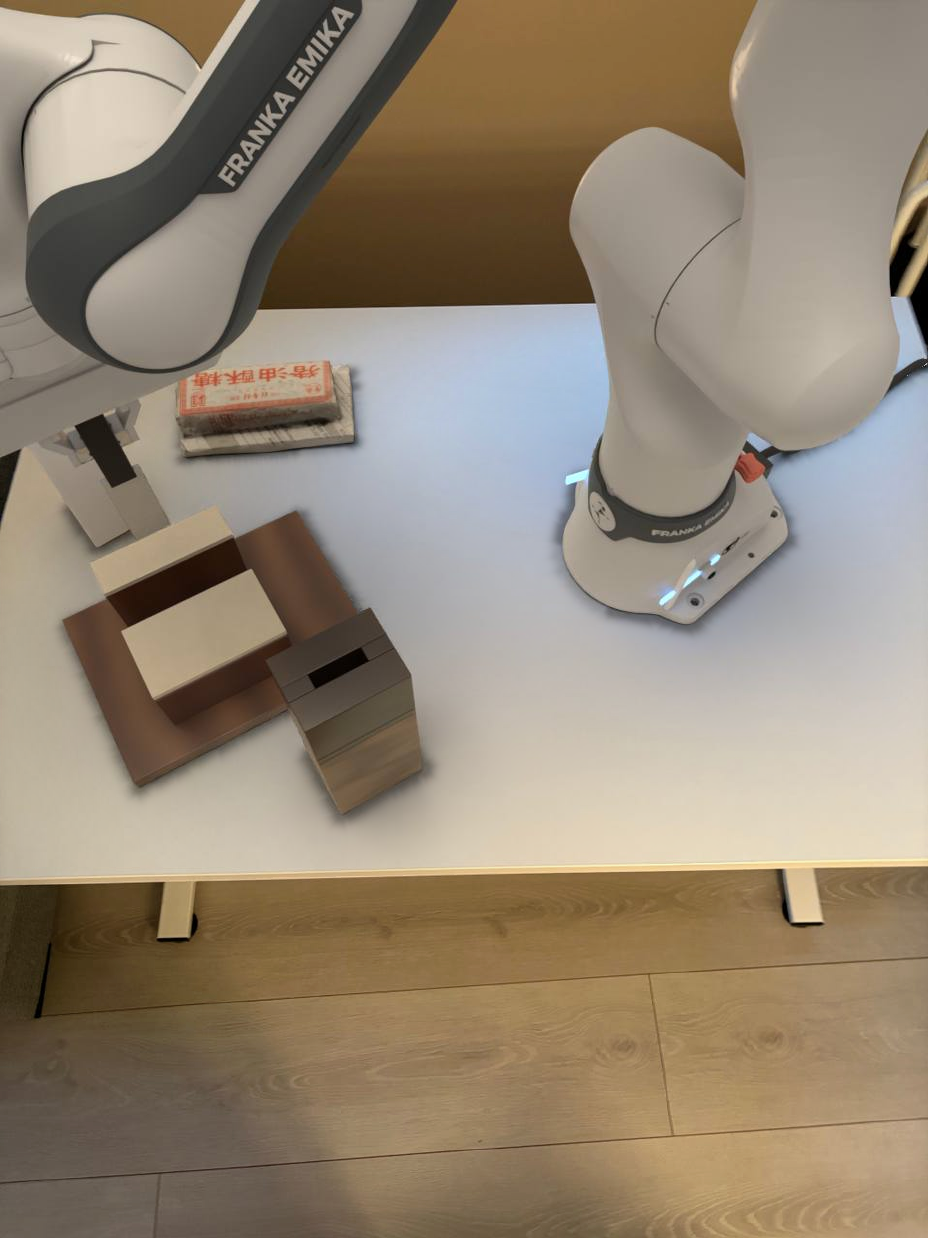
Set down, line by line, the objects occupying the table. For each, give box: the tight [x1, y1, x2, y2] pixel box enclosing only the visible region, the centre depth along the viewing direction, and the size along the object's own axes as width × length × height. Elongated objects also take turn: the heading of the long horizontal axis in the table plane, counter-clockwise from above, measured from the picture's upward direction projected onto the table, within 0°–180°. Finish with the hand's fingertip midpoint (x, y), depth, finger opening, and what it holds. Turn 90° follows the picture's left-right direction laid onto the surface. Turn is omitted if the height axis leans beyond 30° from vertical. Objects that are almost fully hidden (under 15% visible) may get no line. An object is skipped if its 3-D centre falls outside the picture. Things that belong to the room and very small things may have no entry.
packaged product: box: [174, 359, 356, 458], centre depth 95 cm, size 18×5×10 cm
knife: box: [74, 413, 172, 541], centre depth 68 cm, size 3×2×16 cm, turn 120°
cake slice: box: [89, 505, 247, 627], centre depth 84 cm, size 12×4×6 cm, turn 120°
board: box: [61, 509, 359, 788], centre depth 85 cm, size 24×18×2 cm
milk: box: [26, 426, 131, 548], centre depth 82 cm, size 6×6×22 cm
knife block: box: [266, 606, 423, 816], centre depth 71 cm, size 8×6×21 cm
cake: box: [121, 569, 292, 725], centre depth 80 cm, size 12×7×7 cm, turn 120°
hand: (104, 447), depth 65 cm, fingers closed on knife, 2 cm apart
